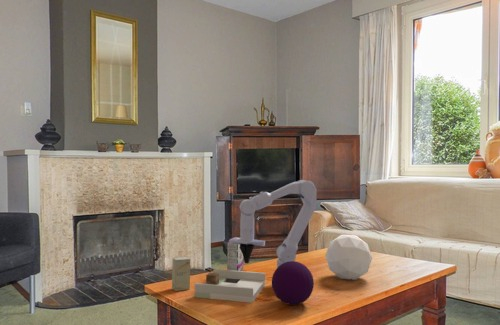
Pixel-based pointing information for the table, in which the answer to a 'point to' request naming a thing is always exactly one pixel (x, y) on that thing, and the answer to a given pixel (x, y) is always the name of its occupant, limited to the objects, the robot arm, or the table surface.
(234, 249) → the candy bar box
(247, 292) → the board
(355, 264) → the geometric orb
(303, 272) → the toy ball
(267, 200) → the robot arm
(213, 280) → the walnut block
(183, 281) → the skincare box
